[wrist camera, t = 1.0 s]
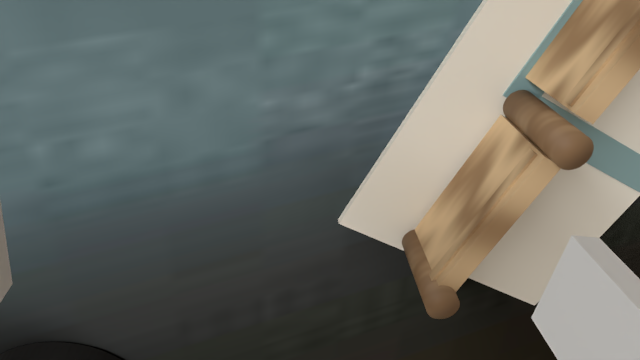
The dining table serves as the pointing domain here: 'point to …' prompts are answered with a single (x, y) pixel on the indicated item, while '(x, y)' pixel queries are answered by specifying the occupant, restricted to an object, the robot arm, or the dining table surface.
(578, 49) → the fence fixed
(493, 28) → the card
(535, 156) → the fence wing
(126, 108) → the dining table surface
